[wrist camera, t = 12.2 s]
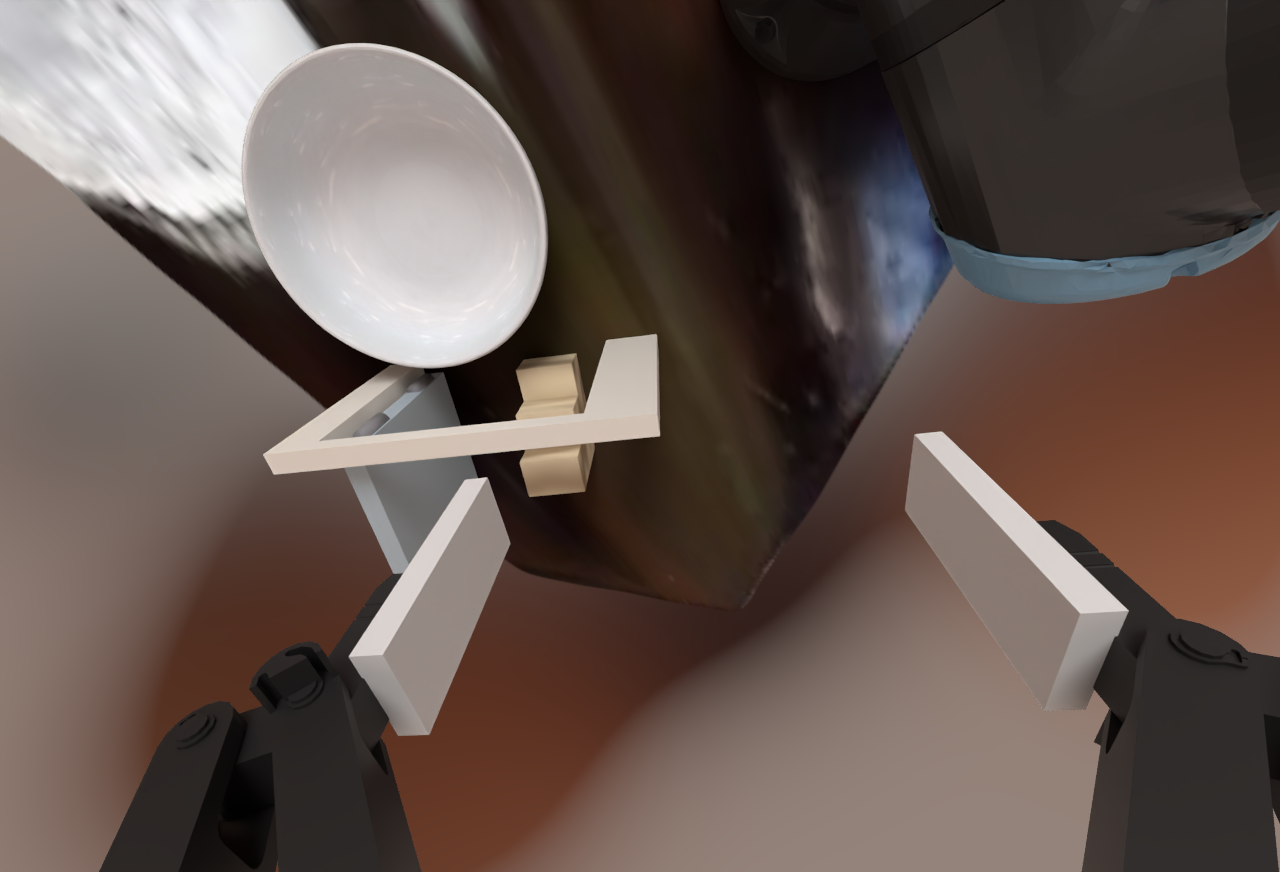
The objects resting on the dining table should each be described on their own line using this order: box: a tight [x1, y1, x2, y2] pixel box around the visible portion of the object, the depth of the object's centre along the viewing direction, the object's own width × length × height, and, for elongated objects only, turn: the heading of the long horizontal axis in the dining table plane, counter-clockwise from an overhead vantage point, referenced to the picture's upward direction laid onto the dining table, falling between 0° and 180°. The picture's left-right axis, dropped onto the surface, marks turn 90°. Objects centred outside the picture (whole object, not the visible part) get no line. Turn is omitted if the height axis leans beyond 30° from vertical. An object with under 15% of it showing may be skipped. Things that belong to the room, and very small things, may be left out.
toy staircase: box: [516, 354, 595, 497], centre depth 44 cm, size 10×5×8 cm, turn 7°
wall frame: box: [263, 334, 660, 474], centre depth 38 cm, size 25×2×17 cm, turn 97°
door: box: [344, 372, 478, 574], centre depth 43 cm, size 16×3×15 cm, turn 7°
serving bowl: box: [242, 43, 548, 368], centre depth 38 cm, size 21×21×7 cm
